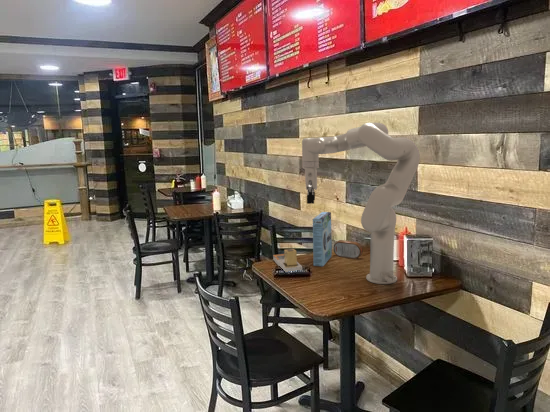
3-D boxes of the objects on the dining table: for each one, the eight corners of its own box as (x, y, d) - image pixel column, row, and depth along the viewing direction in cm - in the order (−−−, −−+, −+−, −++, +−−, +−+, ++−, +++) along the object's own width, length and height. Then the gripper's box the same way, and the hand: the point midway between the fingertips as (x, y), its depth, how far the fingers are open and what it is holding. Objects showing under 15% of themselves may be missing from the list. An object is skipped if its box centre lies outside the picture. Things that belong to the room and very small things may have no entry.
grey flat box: (302, 272, 190) (302, 266, 190) (285, 274, 188) (285, 268, 188) (288, 259, 211) (288, 253, 211) (273, 261, 209) (273, 255, 209)
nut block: (296, 270, 192) (296, 250, 191) (287, 271, 191) (286, 251, 190) (294, 267, 197) (293, 248, 195) (284, 268, 196) (284, 249, 194)
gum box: (323, 267, 197) (322, 219, 194) (312, 266, 199) (311, 218, 195) (332, 256, 215) (331, 212, 212) (322, 255, 217) (321, 211, 213)
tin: (363, 258, 210) (363, 242, 208) (360, 260, 207) (360, 243, 206) (335, 254, 218) (335, 239, 216) (332, 256, 215) (332, 240, 214)
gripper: (318, 166, 185) (318, 204, 188) (319, 163, 202) (319, 199, 205) (301, 166, 186) (301, 204, 189) (303, 163, 203) (304, 199, 206)
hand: (311, 201), depth 197 cm, fingers open, 9 cm apart
